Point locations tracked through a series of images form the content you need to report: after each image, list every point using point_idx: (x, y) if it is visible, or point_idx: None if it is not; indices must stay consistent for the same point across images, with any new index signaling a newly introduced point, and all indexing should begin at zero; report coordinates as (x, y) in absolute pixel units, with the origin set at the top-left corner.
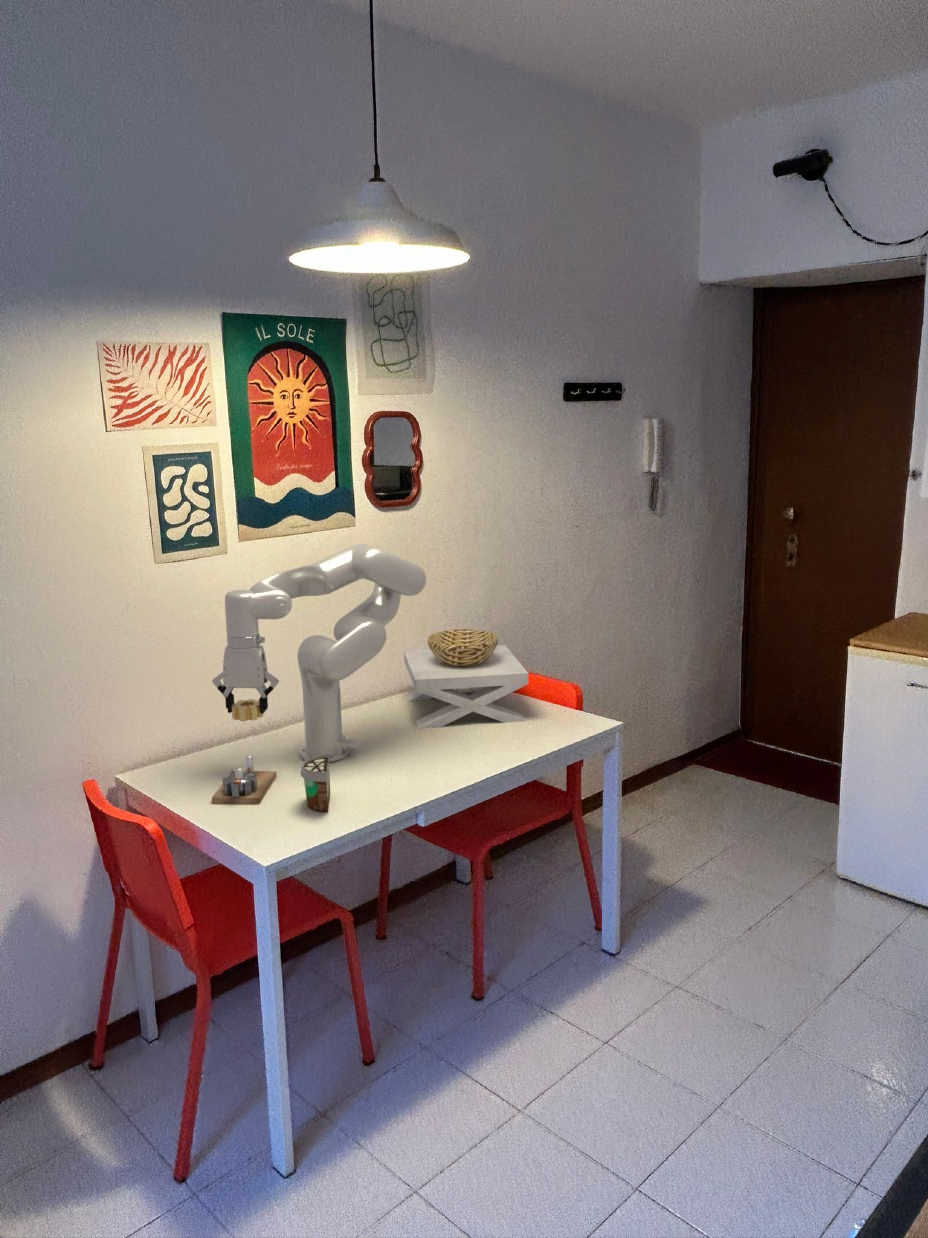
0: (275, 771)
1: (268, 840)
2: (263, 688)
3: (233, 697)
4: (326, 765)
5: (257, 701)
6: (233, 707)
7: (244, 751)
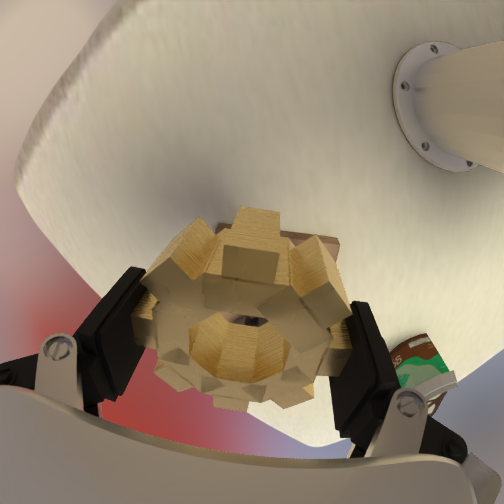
0: (338, 247)
1: (318, 426)
2: (392, 450)
3: (112, 333)
4: (433, 414)
5: (316, 314)
6: (170, 384)
7: (213, 35)
